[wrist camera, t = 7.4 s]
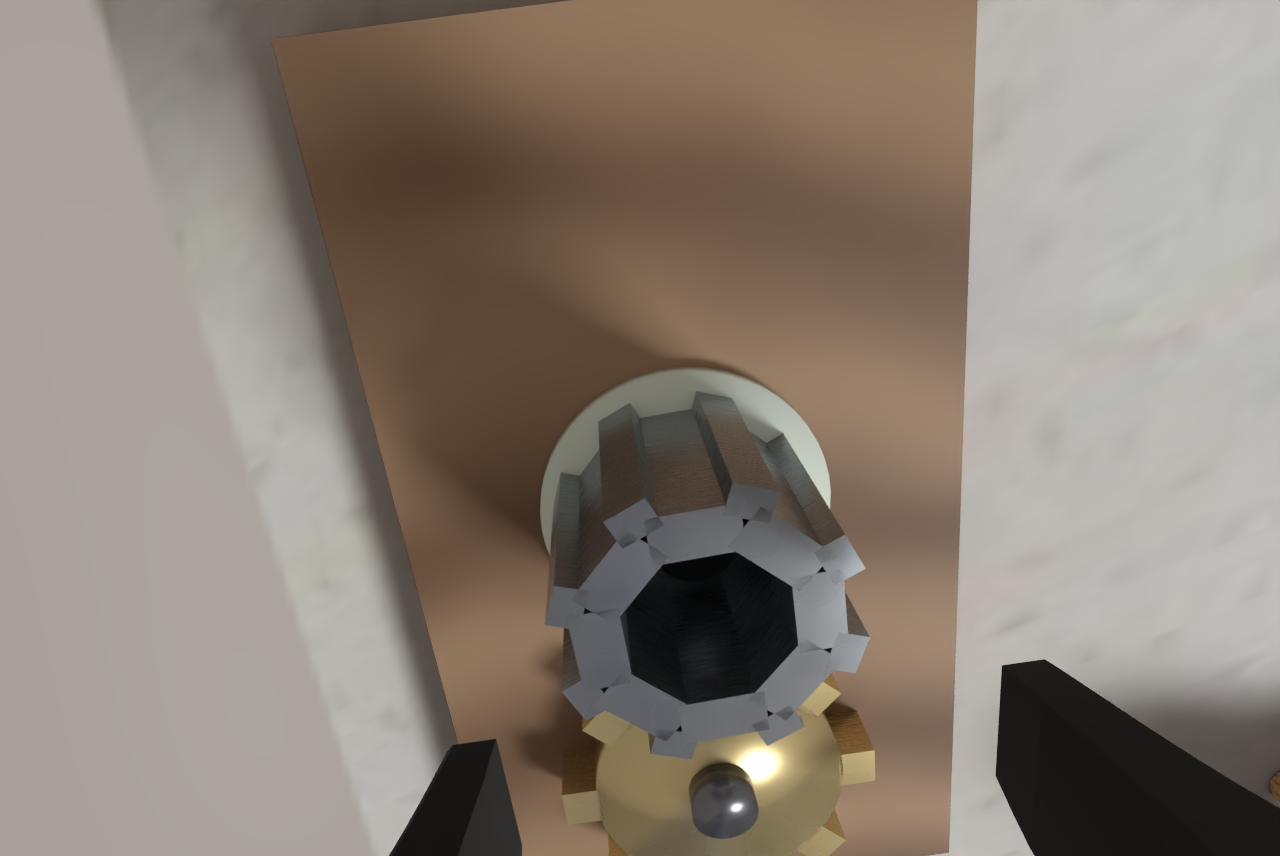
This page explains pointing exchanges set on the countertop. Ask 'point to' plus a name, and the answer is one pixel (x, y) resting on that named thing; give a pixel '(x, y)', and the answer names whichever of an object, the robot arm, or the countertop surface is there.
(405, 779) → the countertop surface
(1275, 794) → the lion figurine
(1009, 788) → the robot arm
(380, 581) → the countertop surface
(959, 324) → the gear board
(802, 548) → the grey gear
